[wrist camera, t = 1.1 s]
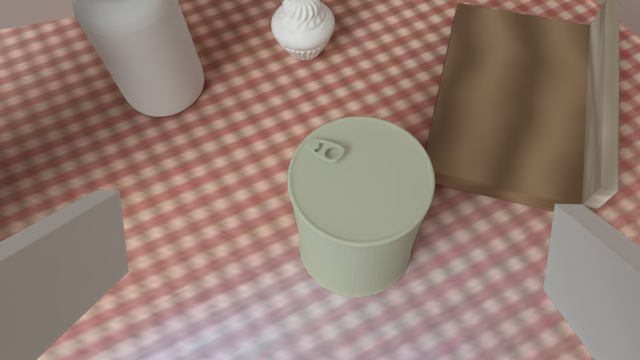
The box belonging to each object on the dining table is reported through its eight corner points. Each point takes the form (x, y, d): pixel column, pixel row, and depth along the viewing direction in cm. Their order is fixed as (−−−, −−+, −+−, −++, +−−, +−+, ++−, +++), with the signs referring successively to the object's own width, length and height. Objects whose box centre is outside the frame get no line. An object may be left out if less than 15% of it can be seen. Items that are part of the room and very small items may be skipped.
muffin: (273, 30, 52) (264, -26, 46) (331, 24, 52) (330, -32, 46) (277, 75, 49) (268, 23, 43) (338, 69, 49) (338, 15, 43)
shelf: (418, 180, 43) (428, 149, 38) (454, 18, 52) (465, -24, 47) (588, 219, 41) (621, 191, 36) (595, 42, 49) (621, 2, 45)
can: (343, 173, 43) (345, 87, 33) (432, 232, 41) (466, 159, 30) (276, 252, 40) (254, 185, 30) (368, 322, 37) (380, 275, 27)
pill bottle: (209, 53, 50) (164, -84, 37) (202, 118, 47) (148, -9, 33) (133, 56, 51) (60, -79, 37) (119, 121, 47) (33, -5, 34)
